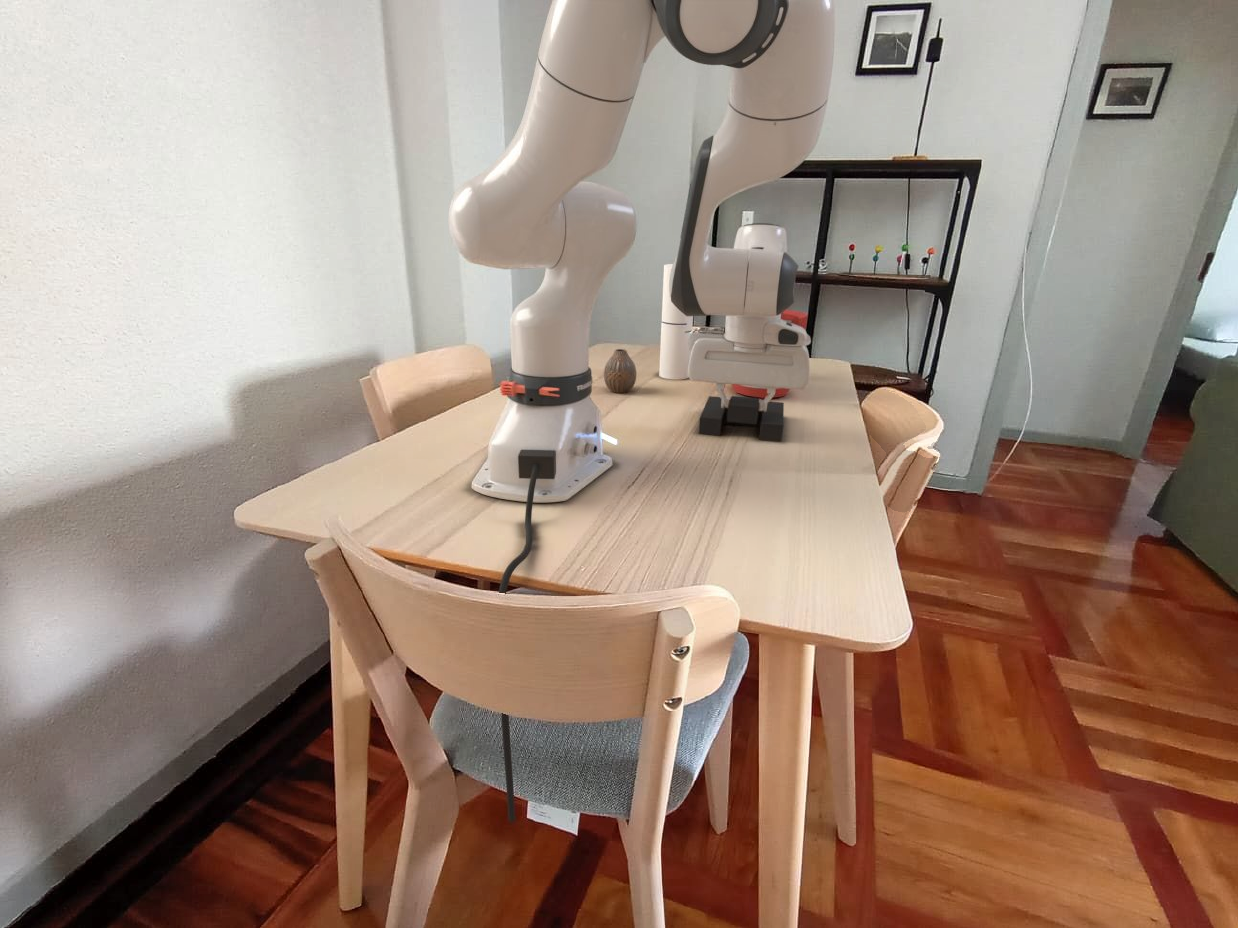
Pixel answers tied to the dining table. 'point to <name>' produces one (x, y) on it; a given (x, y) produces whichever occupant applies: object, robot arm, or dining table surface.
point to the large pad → (766, 421)
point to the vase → (620, 372)
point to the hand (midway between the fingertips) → (743, 409)
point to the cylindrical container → (673, 336)
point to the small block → (743, 410)
